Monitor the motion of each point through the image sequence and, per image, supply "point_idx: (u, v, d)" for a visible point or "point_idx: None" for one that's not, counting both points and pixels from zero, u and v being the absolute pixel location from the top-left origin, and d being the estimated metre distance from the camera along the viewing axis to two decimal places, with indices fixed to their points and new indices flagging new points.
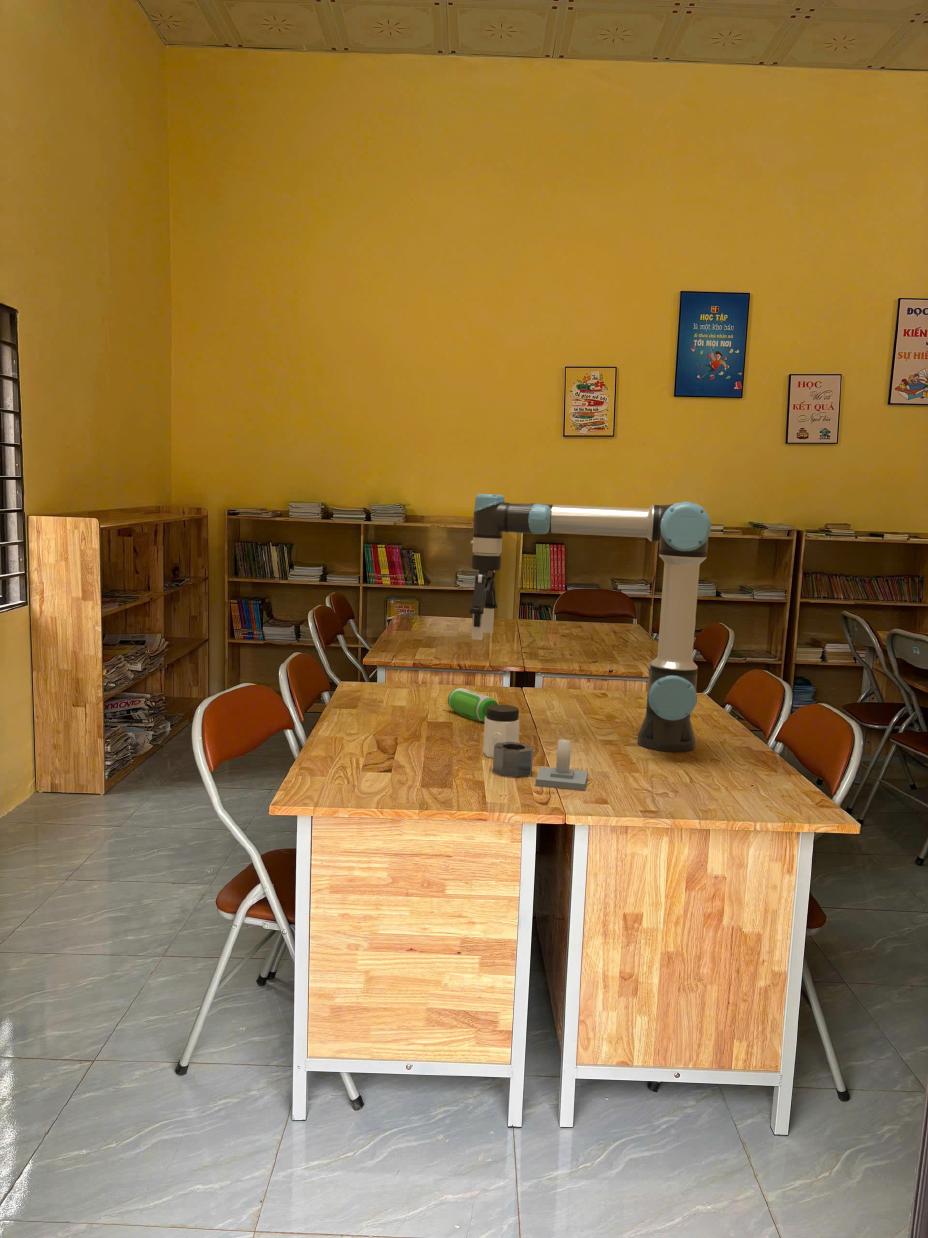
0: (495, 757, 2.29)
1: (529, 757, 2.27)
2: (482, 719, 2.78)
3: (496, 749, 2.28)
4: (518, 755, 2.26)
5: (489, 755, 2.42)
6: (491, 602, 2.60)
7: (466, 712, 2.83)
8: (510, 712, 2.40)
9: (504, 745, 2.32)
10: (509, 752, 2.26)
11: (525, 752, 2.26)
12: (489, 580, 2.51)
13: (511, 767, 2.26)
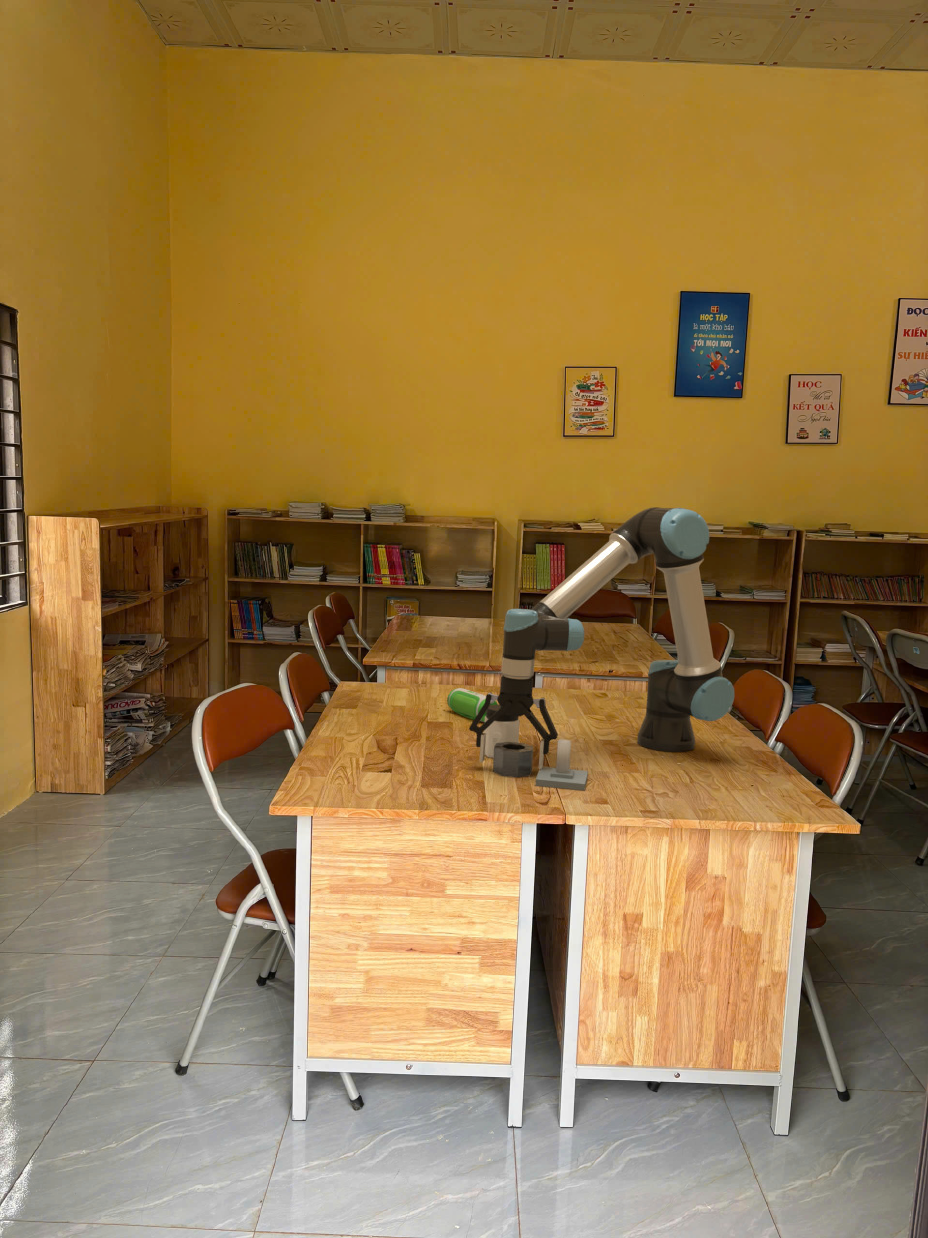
0: (495, 757, 2.29)
1: (529, 757, 2.27)
2: (482, 719, 2.78)
3: (496, 749, 2.28)
4: (518, 755, 2.26)
5: (489, 755, 2.42)
6: None
7: (466, 712, 2.83)
8: None
9: (504, 745, 2.32)
10: (509, 752, 2.26)
11: (525, 752, 2.26)
12: (505, 703, 2.28)
13: (511, 767, 2.26)
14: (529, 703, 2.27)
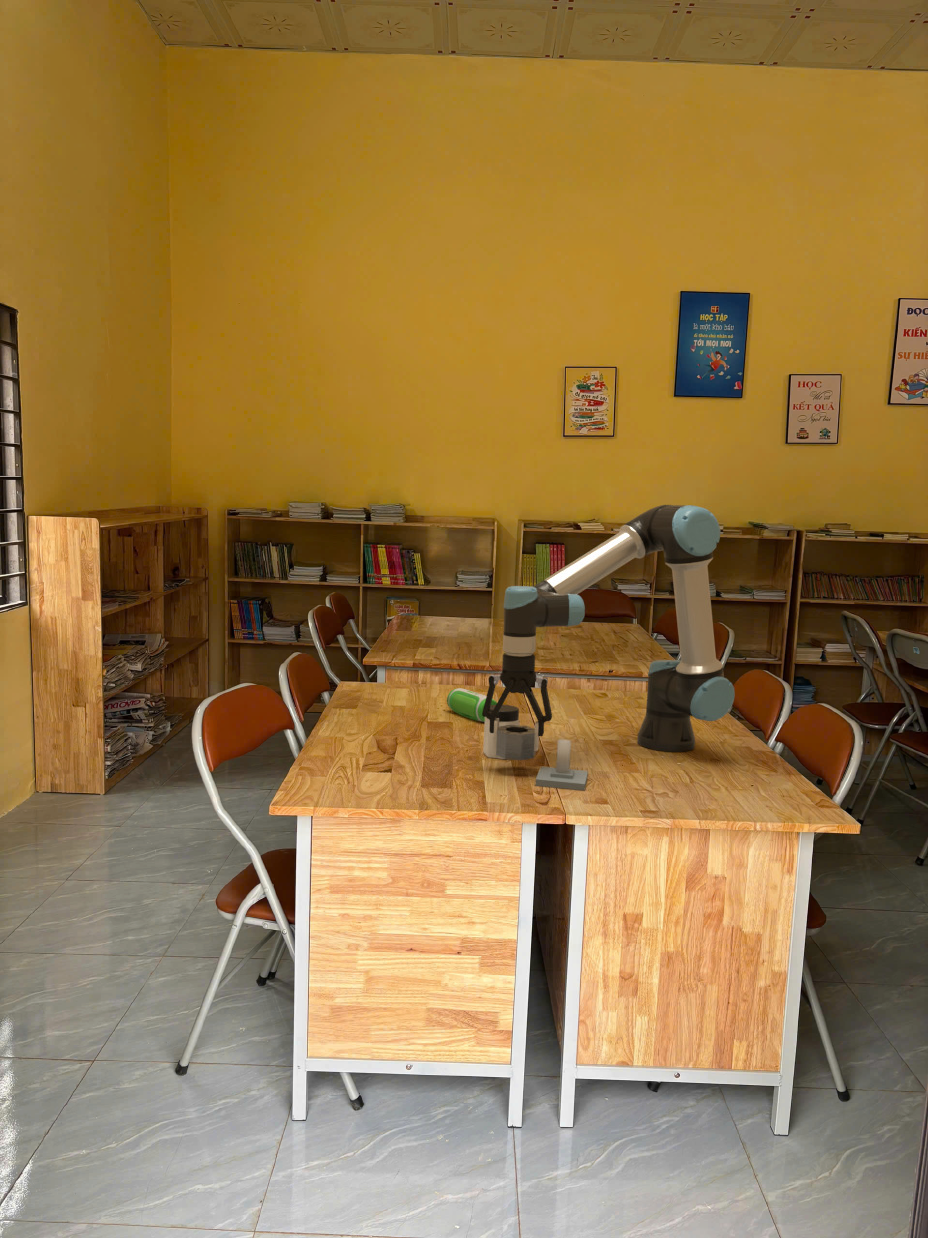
0: (498, 740, 2.28)
1: (532, 740, 2.27)
2: (482, 719, 2.78)
3: (499, 732, 2.28)
4: (521, 738, 2.25)
5: (489, 755, 2.42)
6: (535, 714, 2.28)
7: (465, 712, 2.83)
8: (510, 712, 2.40)
9: (507, 728, 2.32)
10: (512, 735, 2.26)
11: (528, 735, 2.26)
12: (508, 682, 2.27)
13: (514, 750, 2.26)
14: (531, 680, 2.26)
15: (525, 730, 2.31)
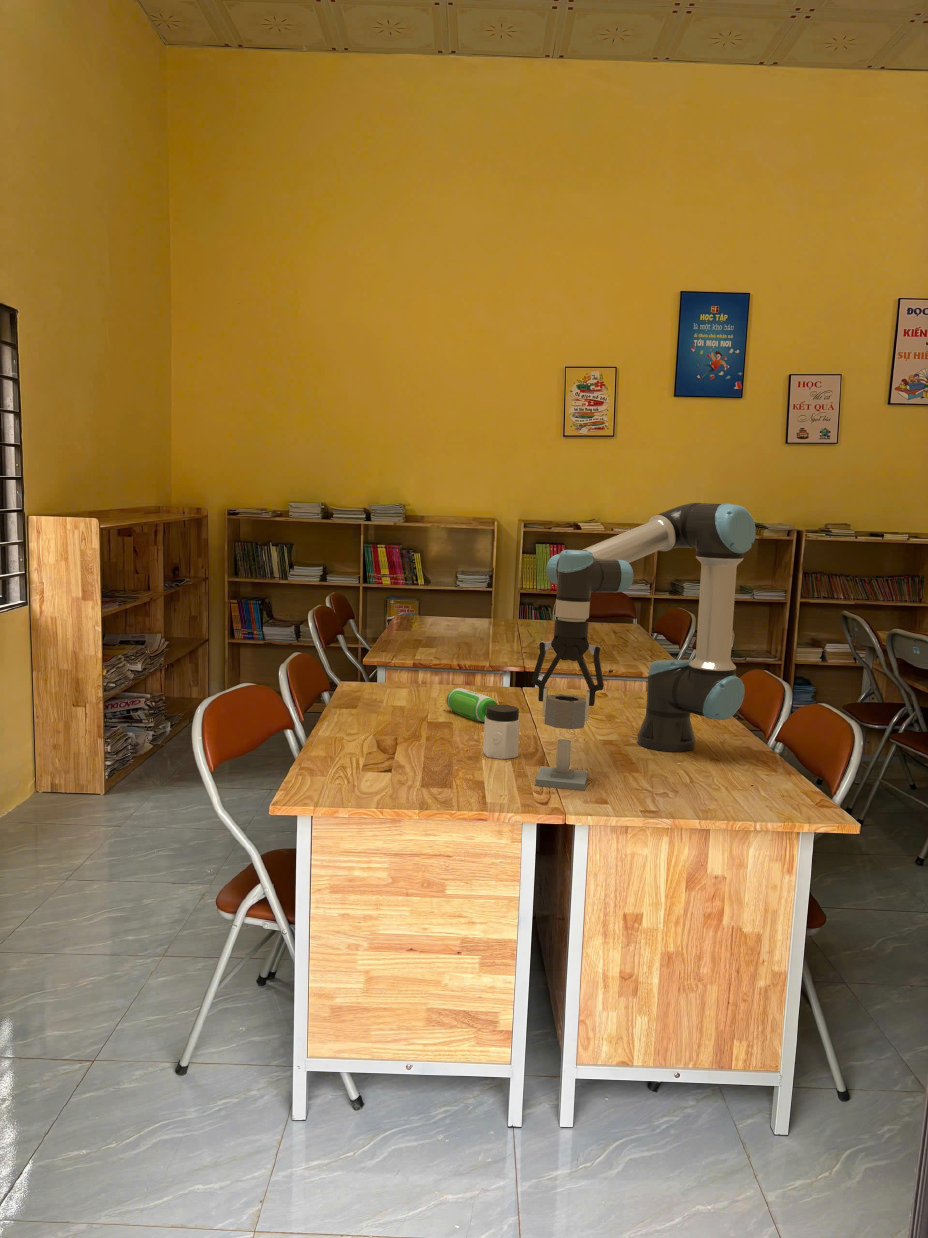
0: (547, 708, 2.21)
1: (583, 709, 2.20)
2: (481, 719, 2.78)
3: (549, 700, 2.21)
4: (572, 706, 2.18)
5: (489, 755, 2.42)
6: (586, 682, 2.20)
7: (465, 712, 2.83)
8: (510, 712, 2.40)
9: (556, 697, 2.24)
10: (563, 703, 2.18)
11: (579, 703, 2.19)
12: (560, 648, 2.20)
13: (564, 718, 2.18)
14: (584, 647, 2.19)
15: (575, 699, 2.24)
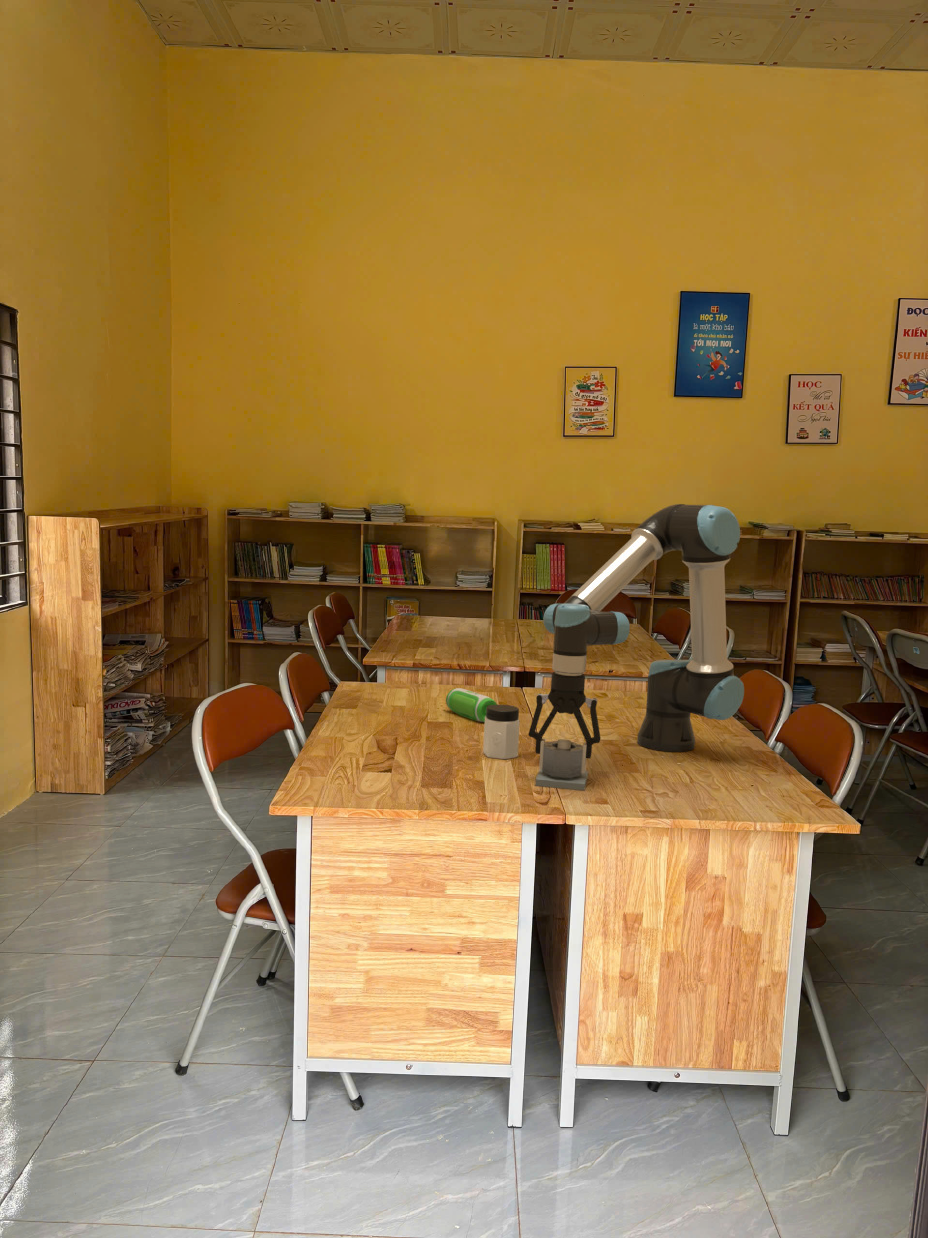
0: (545, 756, 2.22)
1: (580, 757, 2.21)
2: (481, 719, 2.78)
3: (546, 748, 2.22)
4: (569, 754, 2.19)
5: (489, 755, 2.42)
6: None
7: (465, 712, 2.83)
8: (510, 712, 2.40)
9: (553, 744, 2.25)
10: (560, 751, 2.19)
11: (576, 751, 2.20)
12: (556, 702, 2.21)
13: (562, 767, 2.20)
14: (581, 701, 2.21)
15: (572, 746, 2.25)
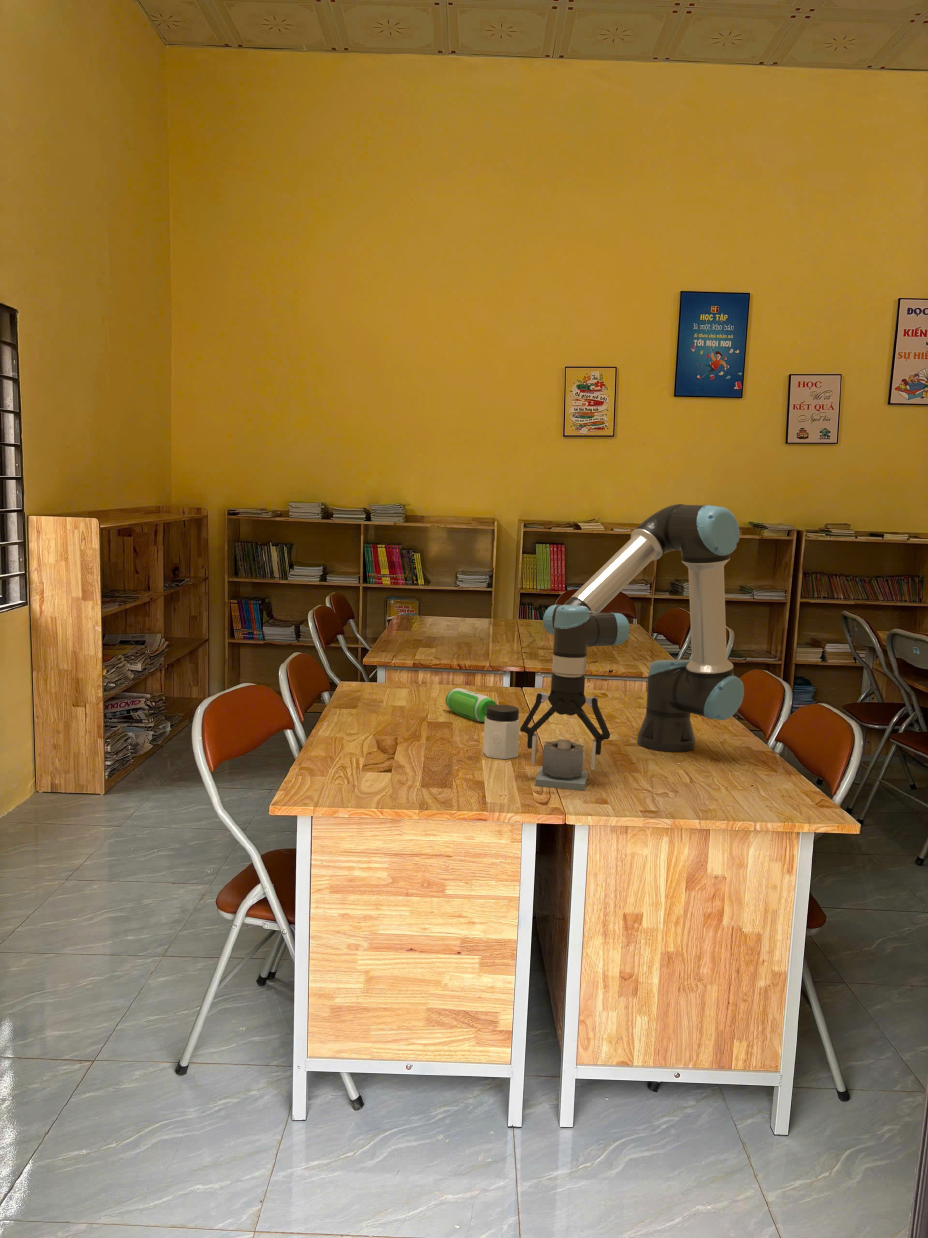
0: (545, 756, 2.22)
1: (580, 757, 2.21)
2: (480, 719, 2.78)
3: (546, 748, 2.22)
4: (569, 754, 2.19)
5: (489, 755, 2.42)
6: None
7: (464, 712, 2.83)
8: (510, 712, 2.40)
9: (553, 744, 2.25)
10: (560, 751, 2.19)
11: (576, 751, 2.20)
12: (556, 702, 2.21)
13: (562, 767, 2.20)
14: (581, 702, 2.21)
15: (572, 746, 2.25)
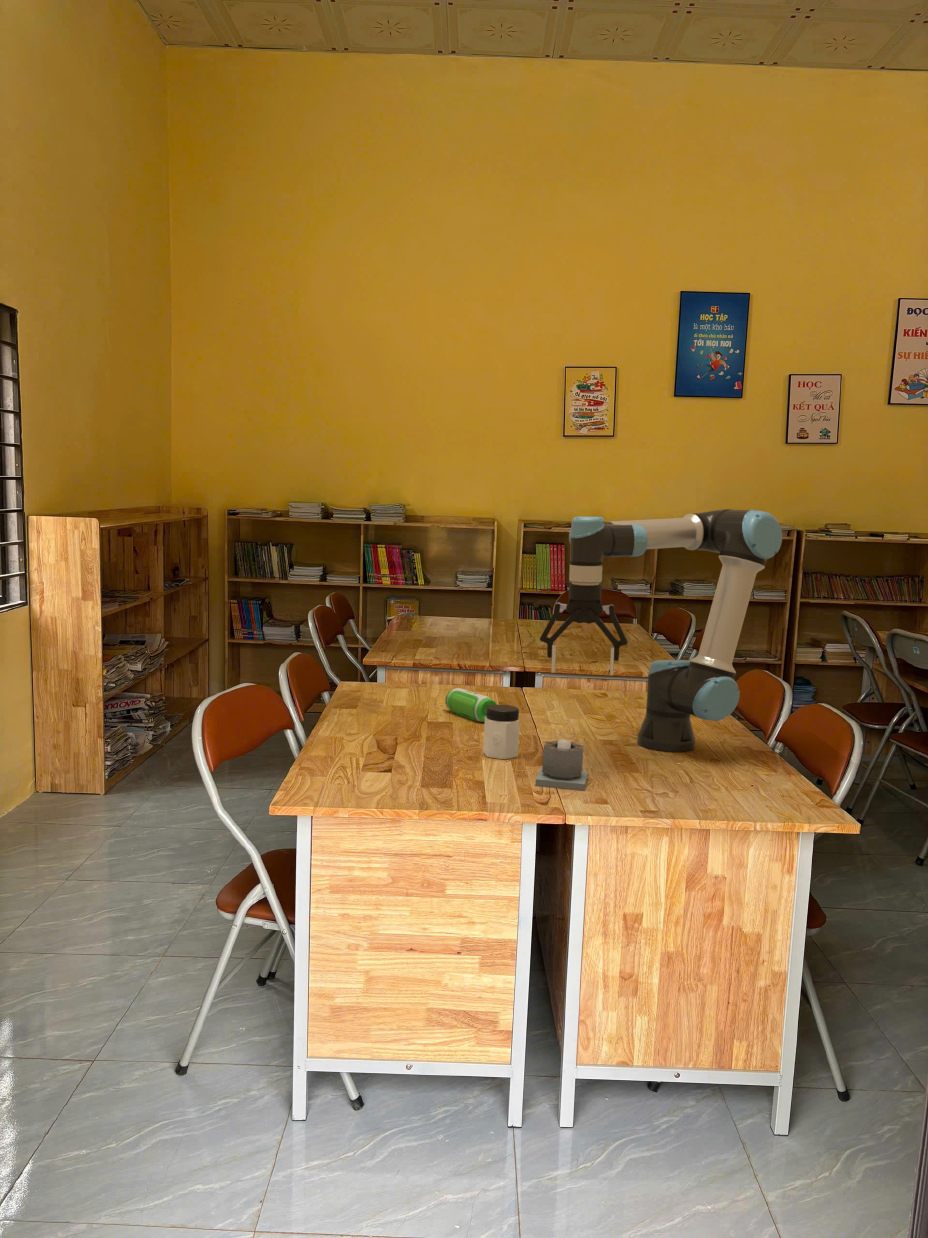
0: (545, 756, 2.22)
1: (580, 757, 2.21)
2: (480, 719, 2.78)
3: (546, 748, 2.22)
4: (569, 754, 2.19)
5: (489, 755, 2.42)
6: (609, 639, 2.29)
7: (464, 712, 2.83)
8: (510, 712, 2.40)
9: (553, 744, 2.25)
10: (560, 751, 2.19)
11: (576, 751, 2.20)
12: (575, 611, 2.28)
13: (562, 767, 2.20)
14: (599, 609, 2.28)
15: (572, 746, 2.25)
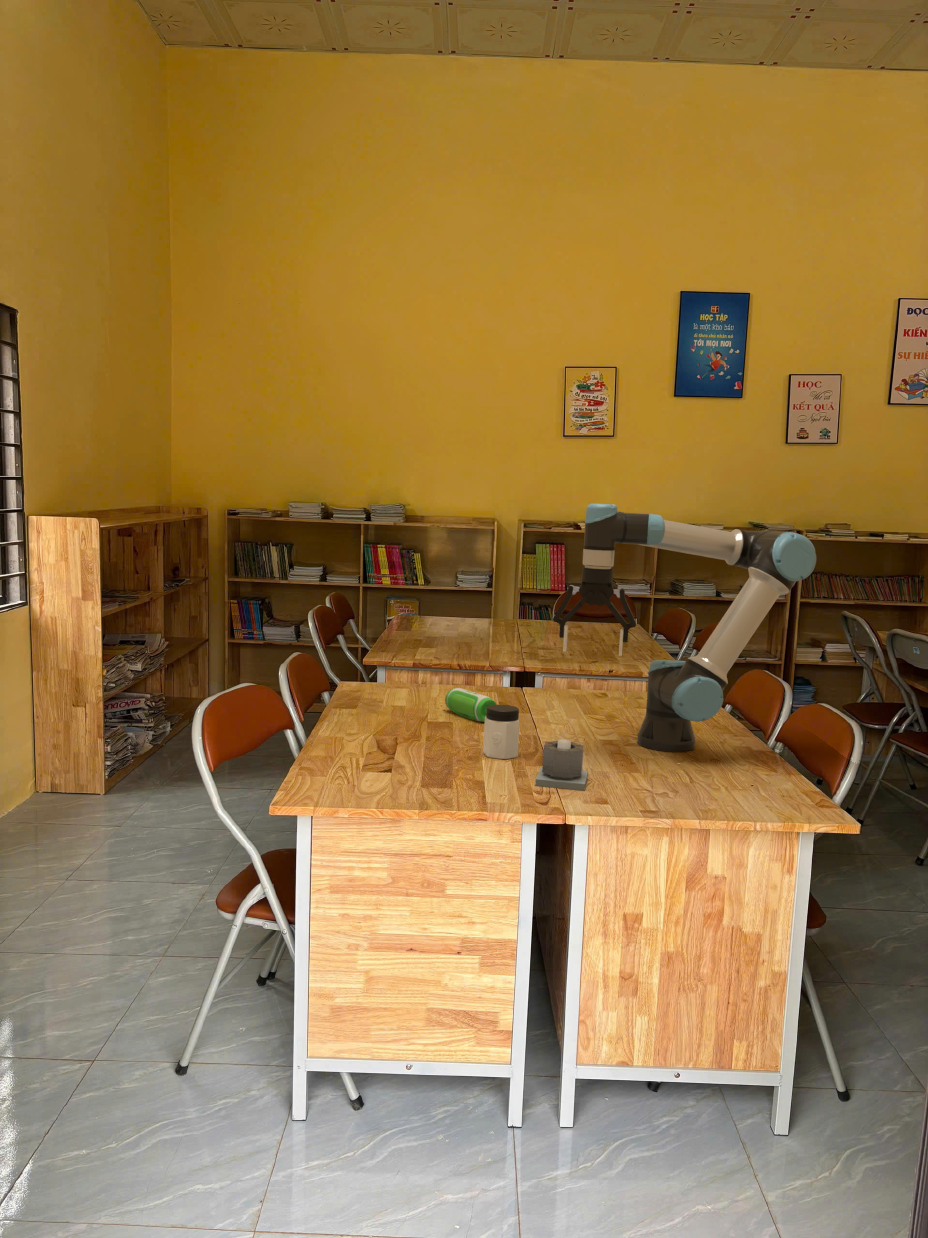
0: (545, 756, 2.22)
1: (580, 757, 2.21)
2: (480, 719, 2.78)
3: (546, 748, 2.22)
4: (569, 754, 2.19)
5: (489, 755, 2.42)
6: (619, 622, 2.39)
7: (464, 712, 2.83)
8: (510, 712, 2.40)
9: (553, 744, 2.25)
10: (560, 751, 2.19)
11: (576, 751, 2.20)
12: (587, 593, 2.39)
13: (562, 767, 2.20)
14: (610, 592, 2.39)
15: (572, 746, 2.25)
